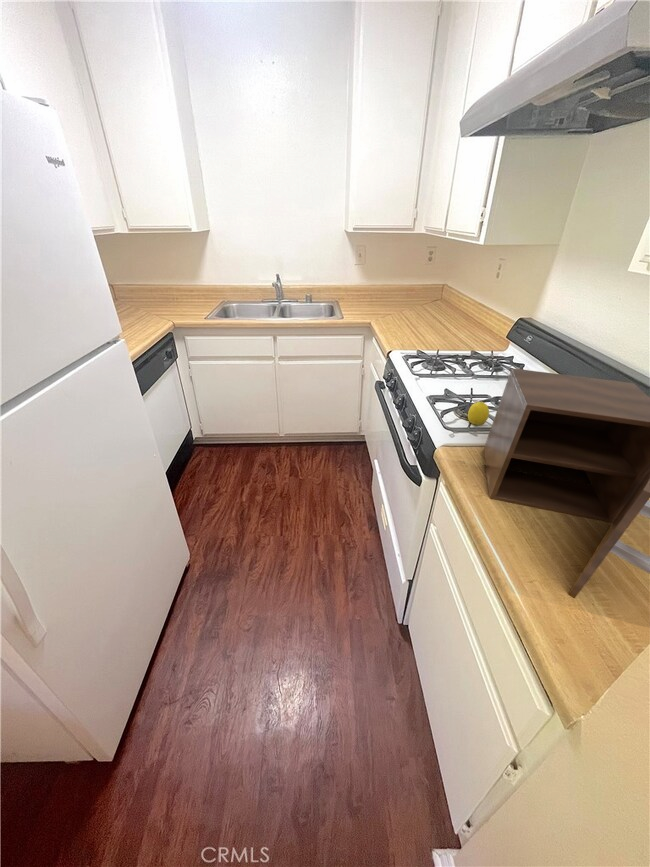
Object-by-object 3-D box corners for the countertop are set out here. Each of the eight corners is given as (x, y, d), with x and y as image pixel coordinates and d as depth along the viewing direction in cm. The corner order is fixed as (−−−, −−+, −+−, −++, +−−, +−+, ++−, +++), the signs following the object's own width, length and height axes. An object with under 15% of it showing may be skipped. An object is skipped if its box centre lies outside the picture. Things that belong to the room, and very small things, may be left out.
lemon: (488, 430, 101) (496, 406, 97) (470, 431, 100) (478, 407, 96) (478, 420, 106) (485, 396, 101) (461, 421, 105) (468, 398, 100)
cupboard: (612, 523, 72) (681, 426, 58) (489, 499, 77) (527, 404, 64) (584, 470, 86) (634, 383, 73) (482, 453, 91) (511, 368, 78)
